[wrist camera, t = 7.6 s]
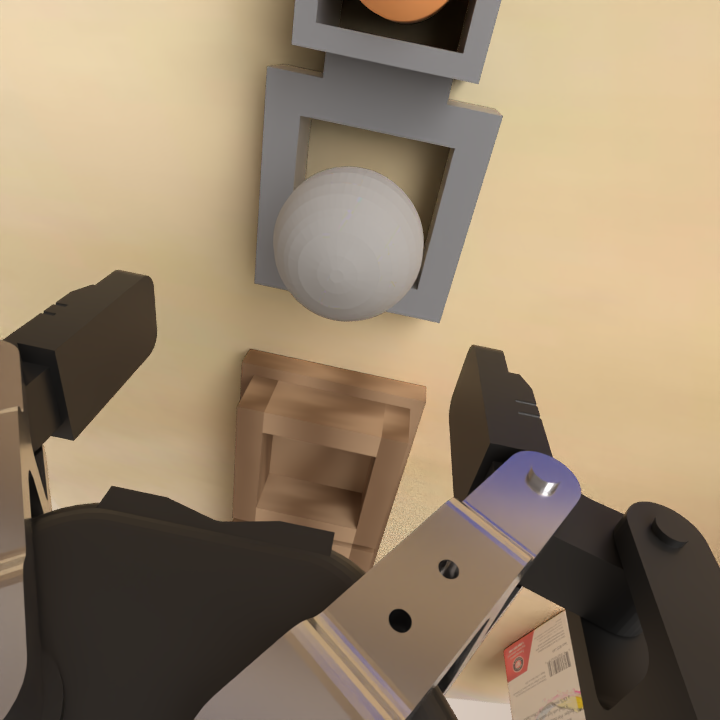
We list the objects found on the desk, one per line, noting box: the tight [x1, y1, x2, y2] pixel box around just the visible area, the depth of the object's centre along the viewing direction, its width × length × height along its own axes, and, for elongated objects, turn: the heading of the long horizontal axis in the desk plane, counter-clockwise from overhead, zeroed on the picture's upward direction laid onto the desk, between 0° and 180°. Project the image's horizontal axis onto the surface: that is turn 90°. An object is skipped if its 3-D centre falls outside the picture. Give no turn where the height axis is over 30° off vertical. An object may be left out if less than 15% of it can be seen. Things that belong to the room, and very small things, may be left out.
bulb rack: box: [232, 349, 426, 573], centre depth 34 cm, size 11×21×4 cm, turn 170°
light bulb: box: [273, 167, 424, 321], centre depth 20 cm, size 5×5×10 cm
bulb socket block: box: [255, 0, 503, 323], centre depth 20 cm, size 10×17×5 cm, turn 170°
